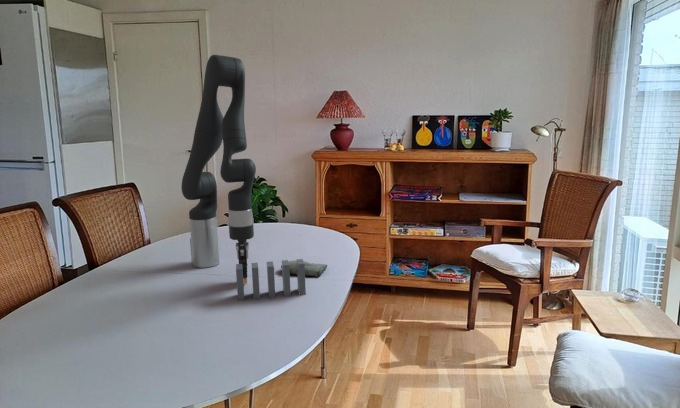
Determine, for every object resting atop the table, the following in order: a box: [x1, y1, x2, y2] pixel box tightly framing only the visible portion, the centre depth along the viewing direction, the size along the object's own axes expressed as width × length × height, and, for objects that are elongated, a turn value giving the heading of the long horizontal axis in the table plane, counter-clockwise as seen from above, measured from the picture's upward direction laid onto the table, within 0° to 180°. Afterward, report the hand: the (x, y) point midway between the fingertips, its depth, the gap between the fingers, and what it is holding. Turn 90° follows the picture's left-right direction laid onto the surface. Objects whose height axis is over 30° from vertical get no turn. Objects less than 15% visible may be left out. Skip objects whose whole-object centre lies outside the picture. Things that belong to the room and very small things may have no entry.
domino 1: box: [235, 263, 245, 301], centre depth 148 cm, size 2×5×10 cm, turn 11°
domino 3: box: [251, 262, 261, 300], centre depth 149 cm, size 2×5×10 cm, turn 11°
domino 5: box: [281, 259, 292, 297], centre depth 150 cm, size 2×5×10 cm, turn 11°
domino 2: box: [241, 260, 248, 284], centre depth 159 cm, size 2×5×10 cm, turn 10°
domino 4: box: [266, 261, 276, 299], centre depth 149 cm, size 2×5×10 cm, turn 11°
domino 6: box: [296, 258, 307, 296], centre depth 151 cm, size 2×5×10 cm, turn 11°
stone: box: [280, 259, 328, 278], centre depth 170 cm, size 11×4×15 cm
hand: (243, 274), depth 160 cm, fingers closed on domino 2, 5 cm apart
